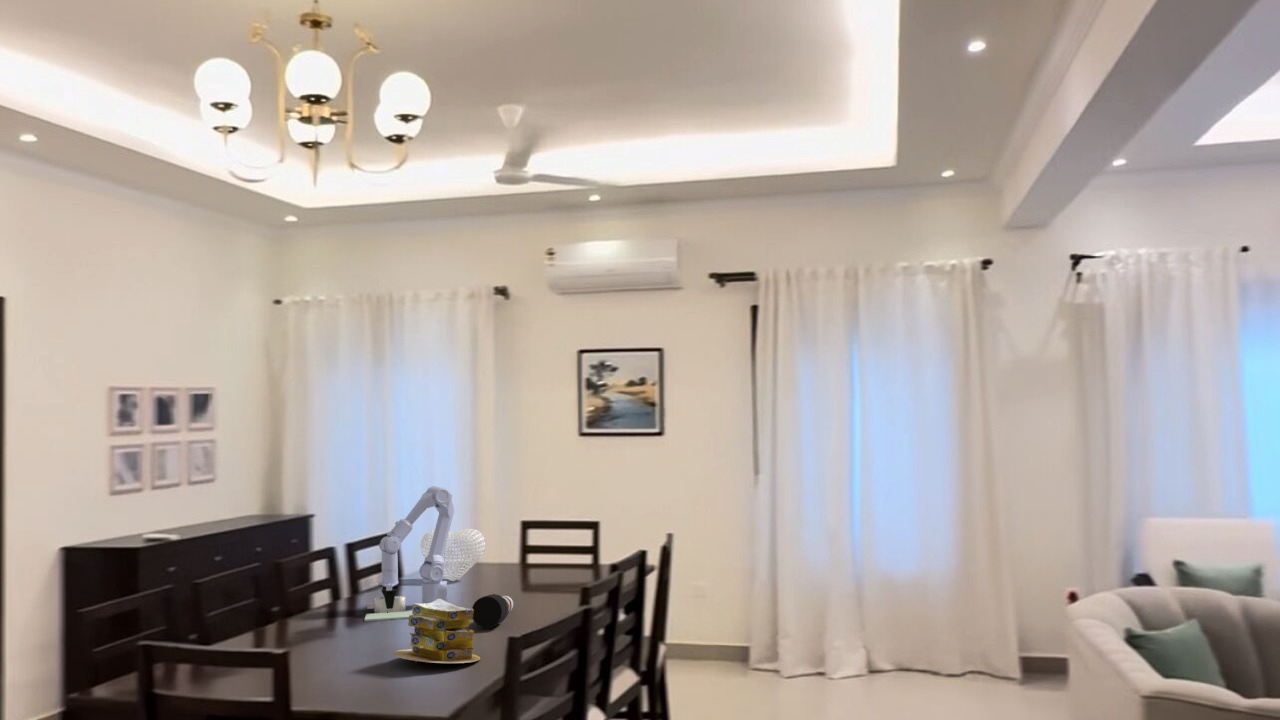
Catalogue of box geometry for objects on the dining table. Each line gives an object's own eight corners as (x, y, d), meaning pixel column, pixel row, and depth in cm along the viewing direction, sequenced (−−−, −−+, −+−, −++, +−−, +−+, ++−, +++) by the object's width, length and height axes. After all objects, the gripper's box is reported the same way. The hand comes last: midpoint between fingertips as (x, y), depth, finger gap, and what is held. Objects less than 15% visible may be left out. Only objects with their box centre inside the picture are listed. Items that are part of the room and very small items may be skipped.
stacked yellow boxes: (452, 647, 296) (452, 592, 297) (496, 662, 278) (495, 603, 279) (377, 662, 280) (377, 604, 281) (418, 678, 261) (418, 616, 262)
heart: (490, 577, 422) (489, 526, 423) (480, 584, 406) (479, 530, 408) (427, 577, 425) (427, 526, 426) (415, 584, 409) (415, 531, 411)
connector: (405, 609, 356) (405, 595, 356) (405, 611, 352) (405, 597, 352) (367, 611, 353) (367, 597, 354) (367, 613, 349) (367, 599, 350)
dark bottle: (513, 622, 351) (526, 596, 352) (492, 633, 318) (507, 605, 319) (489, 609, 353) (502, 584, 354) (466, 619, 319) (480, 591, 320)
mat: (412, 612, 350) (412, 611, 350) (411, 618, 340) (411, 616, 340) (366, 615, 346) (366, 613, 346) (364, 621, 337) (364, 619, 337)
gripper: (379, 567, 360) (379, 604, 359) (377, 573, 346) (377, 611, 345) (399, 566, 362) (399, 603, 361) (397, 572, 347) (397, 610, 347)
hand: (390, 607), depth 353 cm, fingers closed on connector, 4 cm apart
